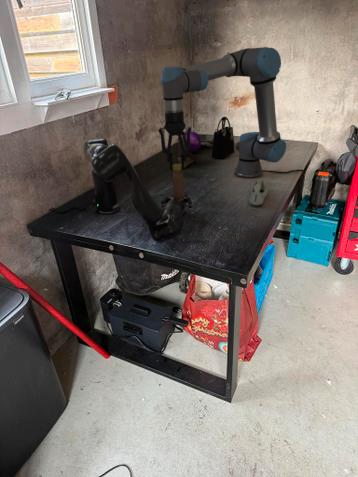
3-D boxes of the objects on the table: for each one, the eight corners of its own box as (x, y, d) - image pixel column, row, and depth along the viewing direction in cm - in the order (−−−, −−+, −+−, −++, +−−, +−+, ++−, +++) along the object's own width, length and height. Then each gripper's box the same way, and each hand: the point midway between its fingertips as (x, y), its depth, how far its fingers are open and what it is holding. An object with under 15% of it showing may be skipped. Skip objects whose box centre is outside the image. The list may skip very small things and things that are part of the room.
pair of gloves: (199, 150, 238) (199, 143, 235) (184, 143, 258) (184, 136, 255) (235, 144, 247) (235, 137, 245) (218, 137, 268) (218, 131, 265)
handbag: (222, 159, 215) (223, 120, 203) (210, 158, 220) (210, 119, 207) (235, 151, 230) (236, 114, 218) (223, 150, 234) (224, 113, 222)
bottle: (174, 214, 149) (171, 168, 138) (175, 209, 153) (172, 165, 142) (184, 214, 149) (182, 168, 138) (185, 209, 153) (182, 165, 142)
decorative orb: (204, 151, 235) (204, 129, 228) (194, 156, 225) (193, 134, 217) (186, 149, 243) (186, 128, 235) (175, 154, 232) (174, 132, 224)
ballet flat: (269, 188, 169) (270, 173, 165) (265, 208, 149) (266, 191, 145) (252, 187, 171) (253, 172, 167) (246, 206, 151) (247, 190, 147)
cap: (170, 169, 140) (169, 165, 139) (176, 166, 143) (176, 163, 142) (178, 170, 138) (178, 167, 137) (184, 167, 141) (184, 164, 140)
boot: (196, 157, 223) (195, 127, 213) (189, 169, 203) (188, 135, 192) (183, 157, 225) (182, 127, 215) (176, 168, 204) (174, 136, 194)
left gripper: (190, 204, 132) (195, 188, 147) (155, 203, 135) (164, 187, 149) (190, 220, 136) (195, 203, 150) (157, 219, 138) (165, 203, 153)
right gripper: (196, 108, 131) (197, 165, 143) (153, 110, 133) (158, 166, 145) (195, 111, 125) (197, 171, 136) (150, 113, 127) (156, 172, 138)
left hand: (179, 195), depth 150 cm, fingers closed on bottle, 4 cm apart
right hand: (177, 168), depth 141 cm, fingers closed on cap, 4 cm apart
